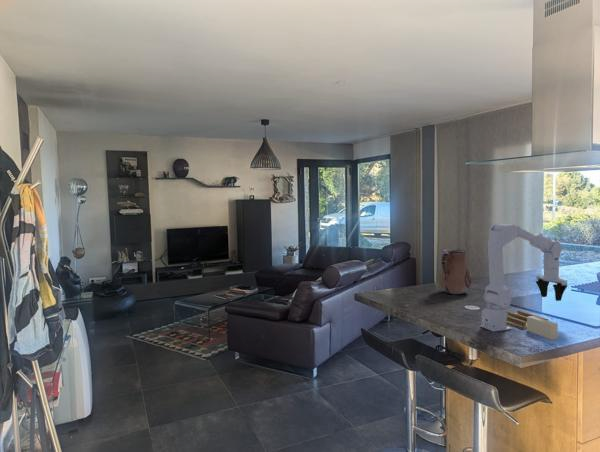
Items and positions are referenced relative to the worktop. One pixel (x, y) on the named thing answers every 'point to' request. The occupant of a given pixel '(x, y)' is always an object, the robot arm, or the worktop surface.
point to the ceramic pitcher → (454, 272)
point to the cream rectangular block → (542, 327)
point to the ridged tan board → (519, 319)
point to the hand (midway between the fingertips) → (551, 298)
